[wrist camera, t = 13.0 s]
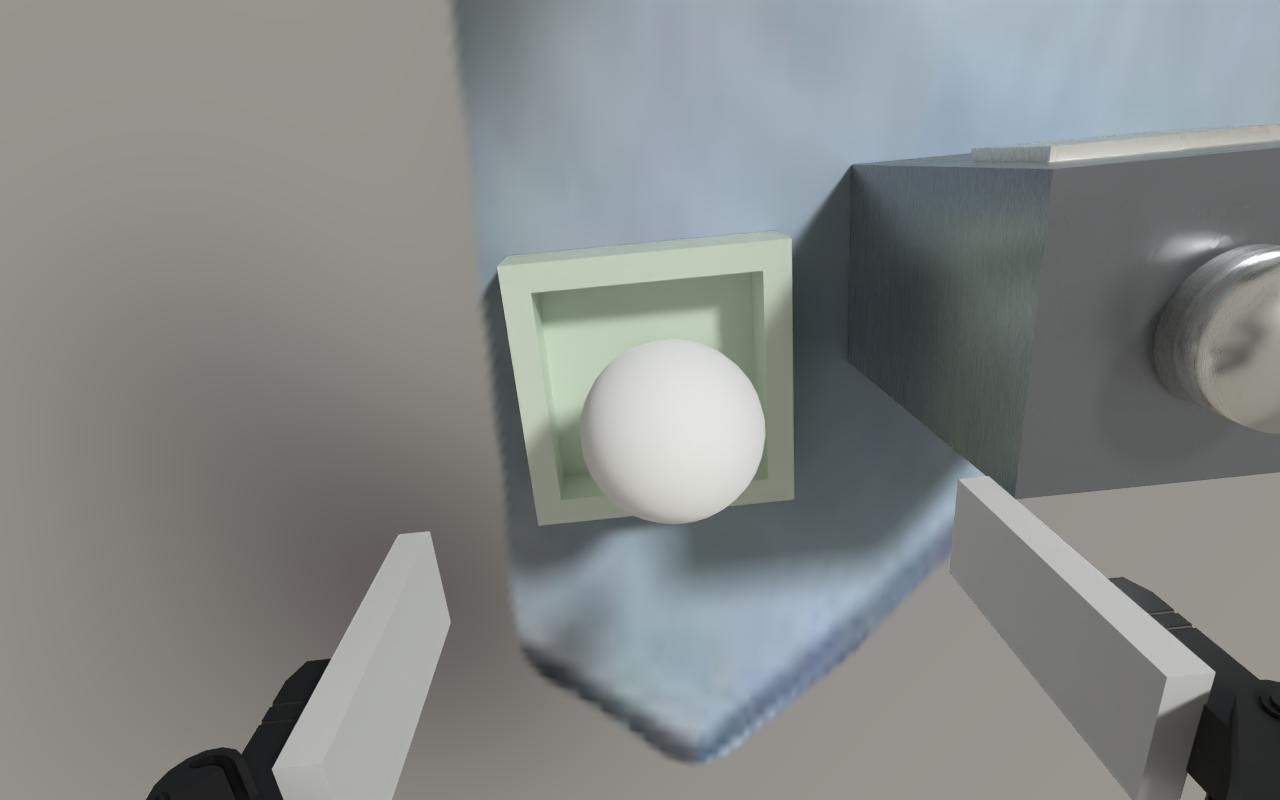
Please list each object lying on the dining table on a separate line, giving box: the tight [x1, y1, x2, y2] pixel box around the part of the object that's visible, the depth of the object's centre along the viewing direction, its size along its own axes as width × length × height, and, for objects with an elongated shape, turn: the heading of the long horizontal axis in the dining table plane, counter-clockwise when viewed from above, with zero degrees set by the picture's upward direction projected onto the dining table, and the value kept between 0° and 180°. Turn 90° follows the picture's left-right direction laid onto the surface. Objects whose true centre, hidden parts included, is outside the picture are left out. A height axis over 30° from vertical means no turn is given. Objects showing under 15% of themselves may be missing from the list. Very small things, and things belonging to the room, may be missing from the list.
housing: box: [848, 124, 1280, 499], centre depth 23 cm, size 9×11×16 cm
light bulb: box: [580, 339, 765, 524], centre depth 26 cm, size 7×7×11 cm
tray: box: [497, 231, 794, 526], centre depth 31 cm, size 12×12×3 cm
